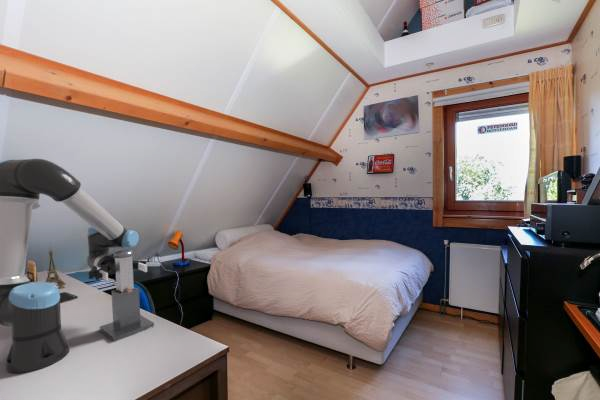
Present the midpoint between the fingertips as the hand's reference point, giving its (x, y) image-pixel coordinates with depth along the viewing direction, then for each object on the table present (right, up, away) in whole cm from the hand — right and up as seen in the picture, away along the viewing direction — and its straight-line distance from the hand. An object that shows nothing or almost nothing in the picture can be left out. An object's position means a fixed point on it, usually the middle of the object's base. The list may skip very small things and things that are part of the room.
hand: (127, 272), depth 112 cm
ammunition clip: (-98, -22, +69) cm, 122 cm away
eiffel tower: (-72, -22, +54) cm, 93 cm away
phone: (-54, -22, +37) cm, 69 cm away
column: (-1, -20, +2) cm, 20 cm away
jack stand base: (-1, -22, +2) cm, 22 cm away
